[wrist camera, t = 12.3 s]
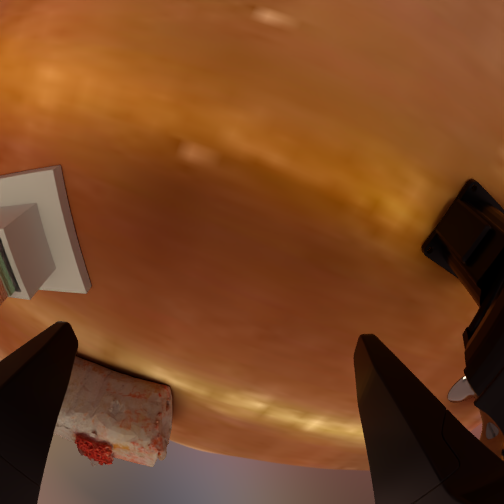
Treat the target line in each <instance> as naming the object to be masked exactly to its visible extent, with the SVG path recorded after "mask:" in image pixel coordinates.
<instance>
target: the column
mask: <svg viewBox="0 0 504 504" xmlns="http://www.w3.org/2000/svg"><path fill="white" fill-rule="evenodd" d="M16 286H17V284H16V282H15V280H14V277H13V275H12V272H11V270H10V267H9V265H8V262H7V259H6V257H5V254H4V251H3V248H2V246H1V243H0V305H1V304H2V303H3V302H4V300H5V299H6V298H7V297H8V296H11V295H12V294H13V293H14V292H15V291H16V290H15V288H16Z"/></svg>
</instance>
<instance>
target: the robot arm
mask: <svg viewBox="0 0 504 504" xmlns="http://www.w3.org/2000/svg"><path fill="white" fill-rule="evenodd" d="M473 185H474V188H473V189H471V188H472V186H473ZM430 247H431V248H430ZM428 248H430V250H428V251H427V249H428ZM422 252H423V253H424V255H425V256H427V257H428V258H430V259H431V260H432V261H434V262H435V263H437V264H438V265H440V266H441V267H443V268H444V269H446V270H447V271H449V272H450V273H451V274H453V275H454V276H456V277H457V278H458V279H459V280H460V281H461V282H462V284H463V285H464V286H465V288H466V289H467V291H468V292H469V293H470V295H471V296H472V298H473V299H474V300H475V302H476V303H477V305H478V306H479V310H478V312H477V313H476V315H475V317H474V319H473V320H472V322H471V324H470V325H469V327H467V328H466V329H465V331H464V333H463V340H464V346H465V362H466V367H465V369H464V374H465V377H466V379H467V381H468V383H469V385H470V387H471V388H472V390H473V391H474V393H475V394H476V395H477V397H478V398H477V399H476V400H475V401H474V405H475V406H476V407H478V408H479V409H480V410H482V411H483V412H485V413H486V414H488V415H489V416H490V417H491V418H492V420H493V421H494V422H495V423H496V424H497V425H498V427H499V428H500V430H501V431H502V433H503V435H504V210H503V208H502V207H501V206H500V205H499V204H498V203H497V202H496V201H495V200H494V199H493V197H492V196H491V195H490V194H489V193H488V192H487V191H486V190H485V189H484V188H483V187H482V186H481V185H480V184H479V183H478V182H477V181H475V180H473V179H471V180H469V181H468V182H467V183H466V185H465V187H464V188H463V190H462V191H461V193H460V194H459V196H458V197H457V199H456V200H455V201H454V203H453V204H452V206H451V207H450V209H449V210H448V212H447V213H446V214H445V216H444V217H443V219H442V220H441V221H440V223H439V224H438V226H437V227H436V228H435V230H434V231H433V232H432V234H431V235H430V236H429V238H428V239H427V240H426V242H425V243H424V244H423V246H422ZM77 349H78V340H77V338H76V335H75V333H74V331H73V329H72V327H71V325H70V324H69V323H68V322H62V321H58V322H56V323H55V324H53V325H52V326H50V327H49V328H47V329H46V330H44V331H43V332H41V333H40V334H39V335H37V336H36V337H34V338H33V339H31V340H30V341H28V342H27V343H26V344H24V345H23V346H21V347H20V348H18V349H17V350H16V351H14V352H13V353H11V354H10V355H9V356H7V357H6V358H4V359H3V360H2V361H0V504H37V501H38V496H39V491H40V485H41V481H42V477H43V472H44V468H45V464H46V460H47V456H48V452H49V448H50V444H51V441H52V437H53V434H54V430H55V427H56V423H57V420H58V416H59V413H60V410H61V407H62V404H63V400H64V397H65V394H66V391H67V388H68V385H69V381H70V377H71V373H72V369H73V364H74V360H75V357H76V353H77ZM354 368H355V378H356V389H357V400H358V408H359V413H360V418H361V423H362V428H363V433H364V438H365V444H366V449H367V455H368V460H369V466H370V472H371V478H372V484H373V491H374V497H375V504H504V461H503V460H502V459H501V458H499V457H498V456H497V455H496V454H495V453H494V452H492V451H491V450H490V449H489V448H488V447H487V446H485V445H484V444H483V443H482V442H481V441H480V440H478V439H477V438H476V437H475V436H474V435H473V434H472V433H471V432H470V431H468V430H467V429H466V428H465V427H464V426H463V425H462V424H461V423H460V422H459V421H458V420H457V419H456V418H455V417H454V416H453V415H452V414H451V412H450V411H449V410H446V407H445V406H444V405H443V404H442V403H441V402H440V401H439V400H438V399H437V398H436V397H435V396H434V395H433V394H432V393H431V392H430V391H429V390H428V389H427V387H426V386H425V385H424V384H423V383H422V382H421V381H420V380H419V379H418V378H417V377H416V376H415V375H414V374H413V373H412V372H411V371H410V370H409V369H408V368H407V367H406V366H405V365H404V364H403V363H402V362H401V361H400V360H399V359H398V358H397V357H396V356H395V355H394V354H393V353H392V352H391V351H390V350H389V349H388V348H387V347H386V346H385V345H384V344H383V343H382V342H381V340H380V339H379V338H378V337H377V336H375V335H374V334H362V335H360V336H359V338H358V342H357V345H356V349H355V352H354Z"/></svg>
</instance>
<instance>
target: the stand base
mask: <svg viewBox="0 0 504 504" xmlns="http://www.w3.org/2000/svg"><path fill="white" fill-rule="evenodd" d="M0 243H1V246H2V248H3V251H4V254H5V257H6V259H7V262H8V265H9V267H10V270H11V272H12V275H13V277H14V280H15V282H16V284H17V286H16V288H15V290H16V291H15V292H14V293H13V294H12V295H11V296H8V297H13V298H21V299H28V300H30V299H31V298H32V297H33V296H34V294H35V293H36V292H37V291H38V290H50V291H61V292H73V293H86V294H87V292H88V291H89V289H90V288H91V282H90V279H89V276H88V273H87V270H86V267H85V264H84V260H83V257H82V253H81V250H80V246H79V243H78V239H77V236H76V232H75V228H74V224H73V220H72V216H71V212H70V208H69V203H68V199H67V194H66V190H65V185H64V180H63V175H62V169H61V165H57V166H51V167H45V168H39V169H33V170H28V171H22V172H17V173H12V174H7V175H2V176H0Z"/></svg>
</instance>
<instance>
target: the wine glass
mask: <svg viewBox="0 0 504 504" xmlns="http://www.w3.org/2000/svg"><path fill="white" fill-rule="evenodd" d="M472 397H474V398H475V400H476V399H477V398H478V397H477V395H476V394H475V393H474V391H473V390H472V388H471V387H470V385H469V383H468V381H467V379H466V377H465V376H464V377H463V378H461V379H460V380H459V381H458V382H457V383H456V384H455V385H454V386H453V387H452V388H451V390H450V391H449V393H448V400H449V401H451V402H462V401H465V400H468V399H470V398H472ZM479 410H480V409H479ZM480 414H481V418H482V425H483V426H482V433H481V437H480V439H479V440H480V441H481V442H482V443H483V444H484V445H485V446H487V447H488V448H489V449H490V450H491V451H492V452H494V453H495V454H496V455H497V456H498V457H499V458H501V459H502V460H503V461H504V435H503V433H502V431H501V430H500V428H499V427H498V425H497V424H496V423H495V422H494V421H493V420H492V418H491V417H490V416H489V415H488V414H486V413H485V412H483V411H482V410H480Z"/></svg>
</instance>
